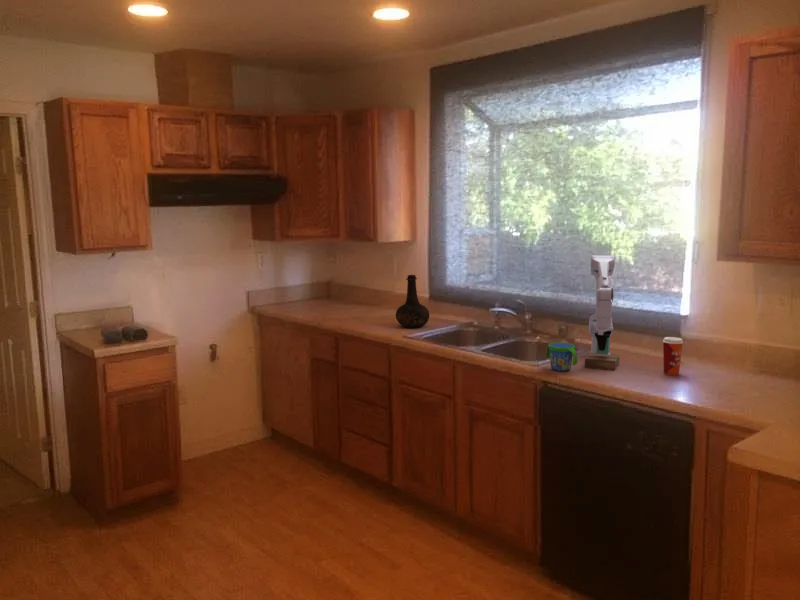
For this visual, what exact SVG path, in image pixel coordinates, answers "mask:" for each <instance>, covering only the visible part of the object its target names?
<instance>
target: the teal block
mask: <svg viewBox="0 0 800 600" xmlns="http://www.w3.org/2000/svg"><path fill="white" fill-rule="evenodd" d="M610 350H611V337H609V338H608V339H607V342H606V346H605V350H604V351H601V350H599V348H598V342H597V353H598V354H609V353H611V351H610Z"/></svg>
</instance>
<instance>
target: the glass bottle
mask: <svg viewBox="0 0 800 600" xmlns="http://www.w3.org/2000/svg"><path fill="white" fill-rule="evenodd" d="M417 279H418V278H417V275H414V274H408V275H407V278H406V279H405V280H407V285H406V286H407V289H406V300H405V302H404V304H402V305H400V306H399V307H398V308H397V310H396V312H395V319H396V321H397V322H398V323H399V325H400V326H402V327H403V328H407V329H417V328H422V327H423V326H425V325H426V324H427V323H428V321H429V319H430V312H429V309H428V308H427V306H425V305H423V304H421V303H420V301H419V298H418V293H417V292H418V291H417Z"/></svg>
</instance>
